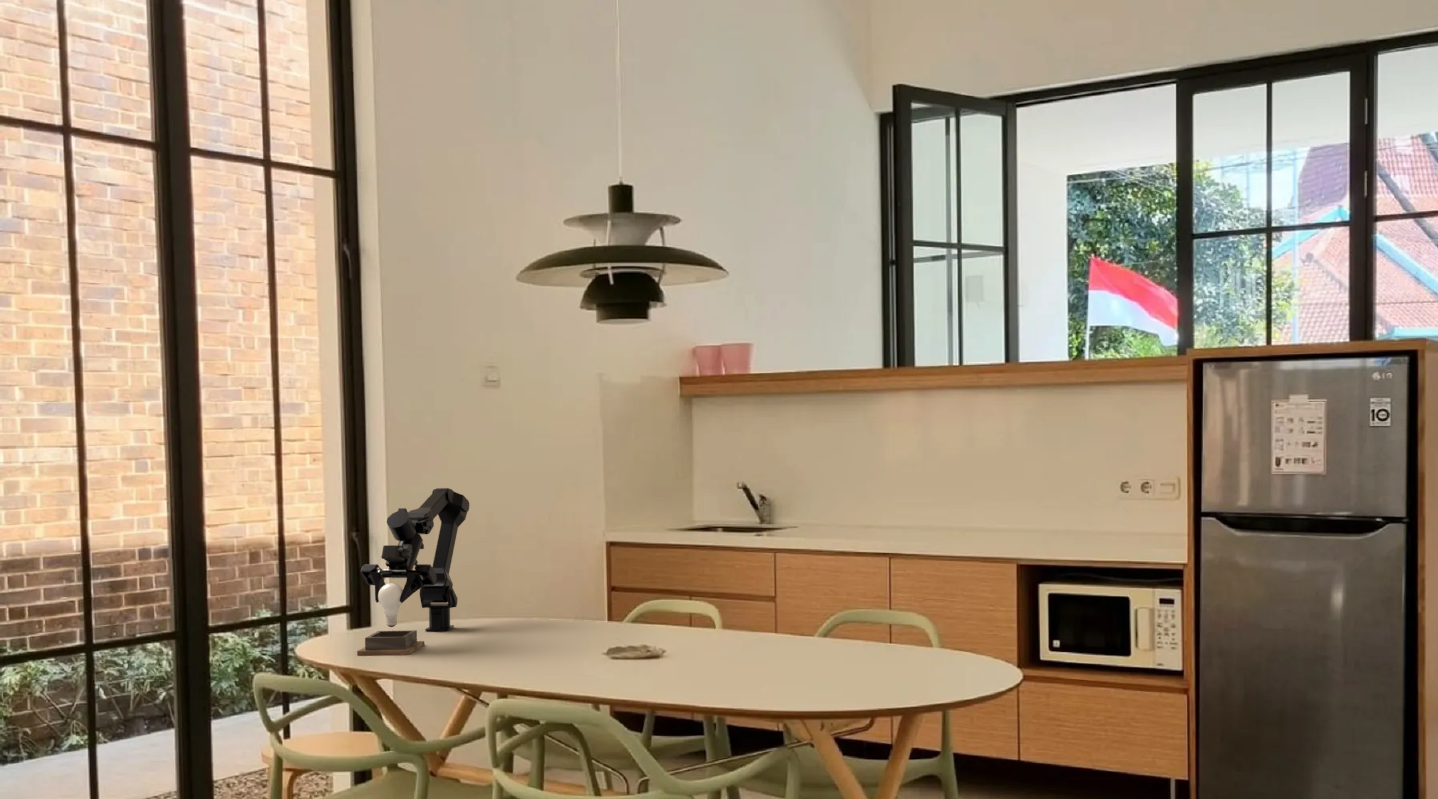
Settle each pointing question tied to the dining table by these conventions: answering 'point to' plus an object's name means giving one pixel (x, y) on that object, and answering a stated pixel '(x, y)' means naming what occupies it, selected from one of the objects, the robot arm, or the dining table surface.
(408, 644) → the socket block
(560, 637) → the dining table surface
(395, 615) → the lightbulb
